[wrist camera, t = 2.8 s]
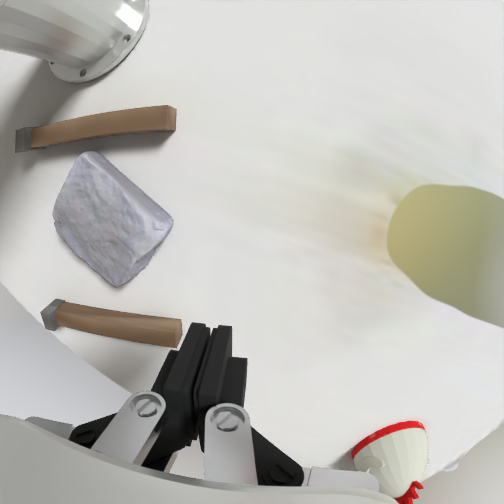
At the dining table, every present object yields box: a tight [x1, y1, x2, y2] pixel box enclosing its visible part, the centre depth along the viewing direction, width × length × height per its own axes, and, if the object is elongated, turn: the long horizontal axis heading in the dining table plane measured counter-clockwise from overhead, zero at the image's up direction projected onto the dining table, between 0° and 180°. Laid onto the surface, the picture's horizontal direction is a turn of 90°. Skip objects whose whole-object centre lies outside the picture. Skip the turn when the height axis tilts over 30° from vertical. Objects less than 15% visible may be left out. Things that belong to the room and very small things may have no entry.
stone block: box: [53, 151, 174, 287], centre depth 25 cm, size 12×5×10 cm
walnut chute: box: [15, 105, 183, 348], centre depth 25 cm, size 23×18×4 cm
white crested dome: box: [352, 421, 429, 504], centre depth 30 cm, size 14×14×15 cm
